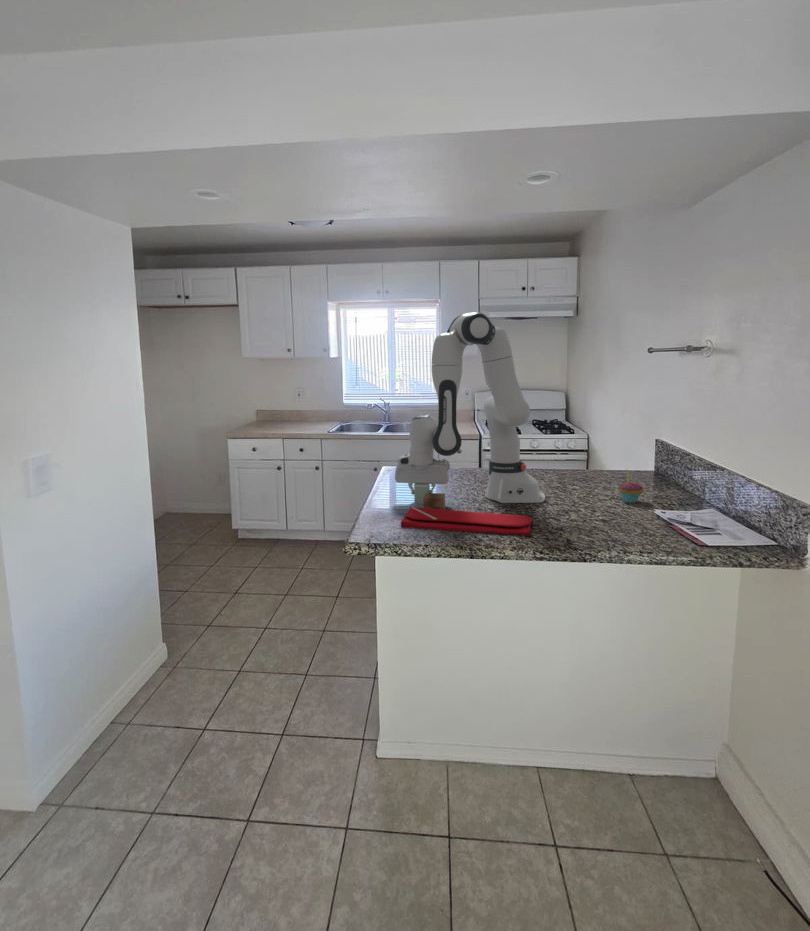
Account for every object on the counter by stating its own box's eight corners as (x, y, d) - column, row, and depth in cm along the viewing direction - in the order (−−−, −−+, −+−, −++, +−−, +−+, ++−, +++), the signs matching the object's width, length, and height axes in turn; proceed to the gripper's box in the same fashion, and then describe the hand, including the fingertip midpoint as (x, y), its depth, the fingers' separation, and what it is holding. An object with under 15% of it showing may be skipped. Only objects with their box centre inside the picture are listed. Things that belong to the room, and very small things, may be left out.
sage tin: (430, 499, 211) (430, 481, 209) (427, 503, 206) (427, 485, 204) (416, 499, 212) (416, 481, 210) (414, 503, 207) (413, 484, 205)
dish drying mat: (530, 538, 169) (530, 526, 168) (400, 529, 179) (400, 517, 178) (531, 522, 184) (532, 511, 183) (411, 514, 194) (411, 504, 193)
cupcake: (614, 501, 205) (616, 469, 203) (623, 496, 211) (625, 465, 209) (637, 505, 199) (639, 472, 197) (646, 500, 205) (648, 468, 203)
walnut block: (444, 506, 202) (444, 493, 201) (443, 512, 195) (443, 498, 194) (425, 506, 203) (425, 493, 202) (423, 511, 196) (423, 498, 195)
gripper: (450, 457, 206) (450, 493, 209) (397, 456, 210) (397, 491, 213) (448, 460, 200) (448, 497, 203) (393, 459, 204) (394, 495, 207)
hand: (422, 494), depth 208 cm, fingers closed on sage tin, 5 cm apart
